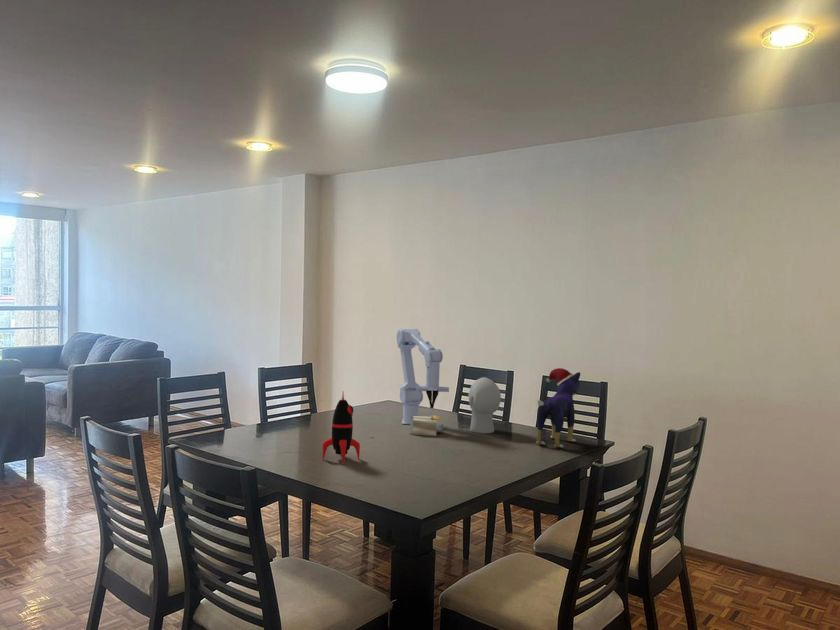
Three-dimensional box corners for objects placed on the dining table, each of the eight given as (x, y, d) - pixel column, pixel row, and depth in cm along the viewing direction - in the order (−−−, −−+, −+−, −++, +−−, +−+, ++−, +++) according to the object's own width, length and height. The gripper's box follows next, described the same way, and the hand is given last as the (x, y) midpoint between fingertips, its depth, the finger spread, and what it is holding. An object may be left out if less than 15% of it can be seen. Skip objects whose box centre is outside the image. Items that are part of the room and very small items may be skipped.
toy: (585, 437, 272) (587, 369, 271) (550, 455, 239) (553, 377, 238) (550, 432, 281) (552, 365, 280) (512, 448, 248) (515, 373, 247)
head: (488, 420, 293) (495, 371, 285) (500, 439, 277) (507, 388, 269) (458, 420, 290) (465, 371, 282) (469, 440, 273) (476, 388, 266)
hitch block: (412, 429, 277) (413, 415, 276) (435, 430, 277) (435, 416, 277) (412, 434, 267) (413, 420, 266) (436, 435, 267) (436, 421, 267)
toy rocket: (342, 464, 216) (344, 392, 215) (320, 459, 222) (322, 389, 221) (361, 459, 224) (363, 389, 224) (339, 454, 230) (341, 386, 229)
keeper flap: (430, 414, 275) (439, 416, 275) (430, 416, 275) (439, 418, 275) (431, 417, 268) (440, 418, 268) (430, 419, 268) (440, 420, 268)
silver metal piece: (409, 430, 275) (410, 417, 275) (442, 431, 275) (442, 418, 275) (409, 433, 268) (410, 420, 268) (443, 434, 268) (443, 421, 268)
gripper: (416, 377, 270) (415, 408, 270) (449, 378, 270) (448, 409, 270) (416, 375, 277) (415, 406, 277) (448, 376, 277) (447, 407, 278)
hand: (431, 407), depth 274 cm, fingers closed
